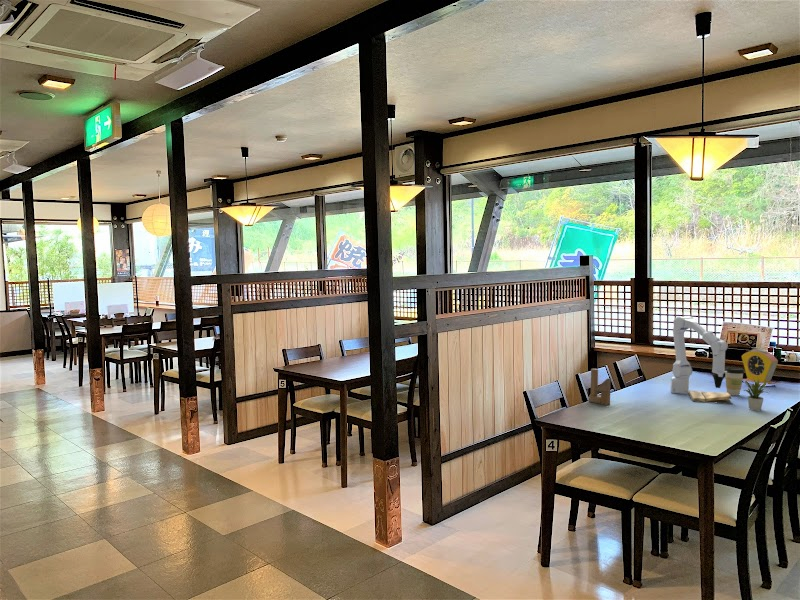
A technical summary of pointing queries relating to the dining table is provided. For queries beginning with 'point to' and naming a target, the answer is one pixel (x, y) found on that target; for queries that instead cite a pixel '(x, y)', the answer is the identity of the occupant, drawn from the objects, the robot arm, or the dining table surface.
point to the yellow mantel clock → (759, 365)
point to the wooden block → (603, 388)
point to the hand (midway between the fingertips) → (717, 387)
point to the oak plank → (717, 396)
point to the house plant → (755, 395)
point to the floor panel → (700, 397)
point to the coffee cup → (733, 380)
